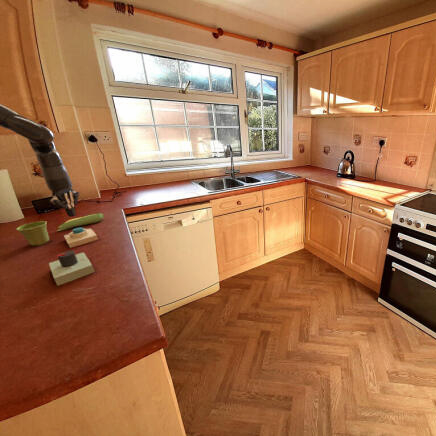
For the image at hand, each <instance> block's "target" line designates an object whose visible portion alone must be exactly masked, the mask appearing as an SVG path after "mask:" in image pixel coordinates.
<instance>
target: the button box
mask: <svg viewBox="0 0 436 436" xmlns="http://www.w3.org/2000/svg"><path fill="white" fill-rule="evenodd" d="M83 230H84V232H81V233H78V234H74V233H73V231H71V232H69V233H68V234H64V235H63V237H64V240H65V241H66V244H67V245H68V247H69V248H70V249H71V248H75V247H77V246H81V245H85V244H88V243H91V242H94V241H97V240H99V238H98V234H97V233H96V232H95V231H94V230H93V229H92V228H83Z"/></svg>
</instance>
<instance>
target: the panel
mask: <svg viewBox="0 0 436 436" xmlns="http://www.w3.org/2000/svg"><path fill="white" fill-rule="evenodd" d="M75 255H76V258H77V260H78V263H76V264H75V265H73V266H70V267H62V266H61V264H60V261H59V259H57V260H54V261H51V262H49V263H48V266H49V269H50V271H51V274H52V278H53V279H54V281H55V283H56V286H57V287H59V286H61V285H64V284H66V283H69V282H72V281H75V280H77V279H80V278H83V277H86V276H88V275H91V274H93V273H96V272H95V268H94V266H93V264H92V263H91V261H90V260H89V258H88V257H87V255H86V253H85V252H84V251H83V252H80V253H75Z"/></svg>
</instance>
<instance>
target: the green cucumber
mask: <svg viewBox="0 0 436 436" xmlns="http://www.w3.org/2000/svg"><path fill="white" fill-rule="evenodd" d="M104 217H105V215H104V214H103V213H100V212H96V213H95V212H94V213H91V214H87V215H83V216H80V217H77V218H72V219H68V220H67V221H65V222H62V223H61V224H59V226H58V229H57V230H56V232H58V231H59V232H60V231H64V230H65V231H66V230H68V229H72V228H73V229H74V228H78V227H82V226H86V225H91V224H96V223H99V222H101V221H102V220H103V219H104Z"/></svg>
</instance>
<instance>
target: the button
mask: <svg viewBox="0 0 436 436" xmlns="http://www.w3.org/2000/svg"><path fill="white" fill-rule="evenodd" d="M83 229H84V227H82V226H79V227H74V228H73V229H72V232H73V233H74V234H78V233H81V232H84V230H83Z"/></svg>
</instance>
